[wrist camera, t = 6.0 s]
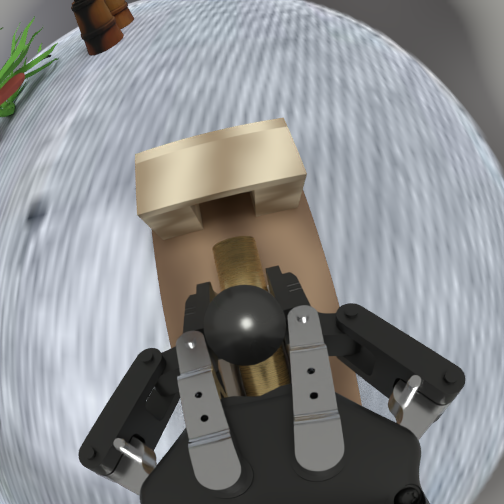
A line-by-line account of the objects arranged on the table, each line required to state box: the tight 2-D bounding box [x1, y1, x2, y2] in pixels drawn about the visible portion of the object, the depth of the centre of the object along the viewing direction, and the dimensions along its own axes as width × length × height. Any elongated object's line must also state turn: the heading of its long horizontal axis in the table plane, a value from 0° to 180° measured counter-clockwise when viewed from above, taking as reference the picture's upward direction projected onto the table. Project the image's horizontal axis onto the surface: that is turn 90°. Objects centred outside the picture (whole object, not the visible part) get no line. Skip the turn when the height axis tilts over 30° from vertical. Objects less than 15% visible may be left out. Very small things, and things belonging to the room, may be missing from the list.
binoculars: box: [71, 0, 134, 56], centre depth 28 cm, size 18×8×20 cm, turn 5°
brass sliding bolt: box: [203, 236, 291, 396], centre depth 14 cm, size 3×16×11 cm, turn 13°
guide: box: [135, 118, 362, 406], centre depth 19 cm, size 14×29×7 cm, turn 13°
